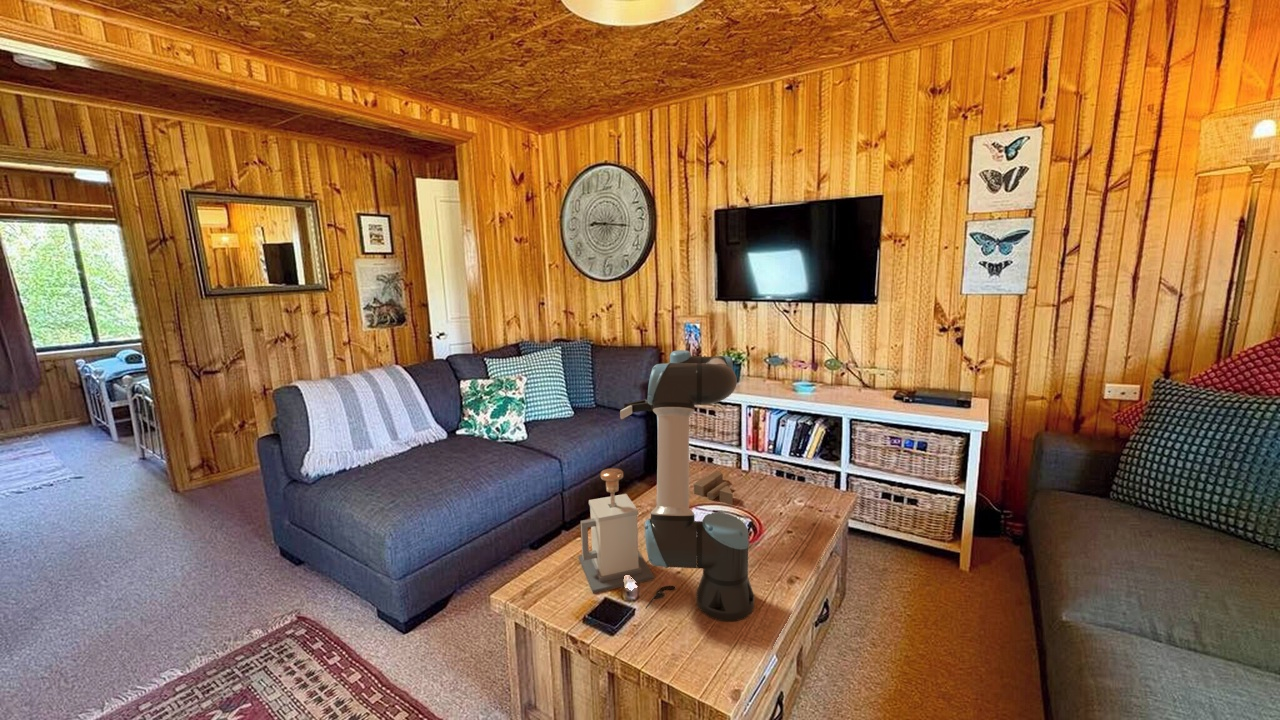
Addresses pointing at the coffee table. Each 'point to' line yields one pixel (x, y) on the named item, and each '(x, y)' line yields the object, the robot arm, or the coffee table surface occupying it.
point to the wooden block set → (714, 488)
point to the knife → (661, 595)
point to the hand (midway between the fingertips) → (640, 417)
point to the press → (612, 538)
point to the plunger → (612, 481)
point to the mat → (614, 583)
